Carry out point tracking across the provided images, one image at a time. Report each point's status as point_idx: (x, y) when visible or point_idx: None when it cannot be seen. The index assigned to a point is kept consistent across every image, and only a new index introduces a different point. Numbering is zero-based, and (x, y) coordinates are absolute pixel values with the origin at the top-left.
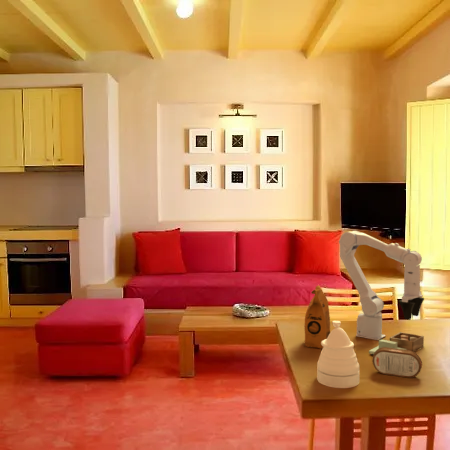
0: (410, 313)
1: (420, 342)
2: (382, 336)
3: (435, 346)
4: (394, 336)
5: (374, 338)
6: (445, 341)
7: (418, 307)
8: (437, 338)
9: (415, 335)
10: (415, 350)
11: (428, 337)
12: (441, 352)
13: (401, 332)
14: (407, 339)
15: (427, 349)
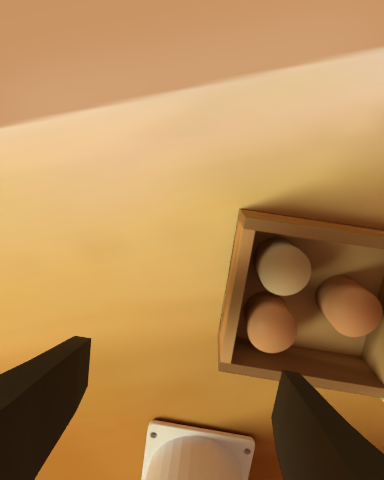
0: (346, 424)
1: (299, 221)
2: (188, 432)
3: (197, 148)
4: (343, 380)
5: (248, 456)
6: (54, 116)
7: (32, 397)
8: (19, 172)
9: (246, 271)
10: (369, 228)
11: (30, 222)
12: (309, 88)
13: (226, 363)
14: (344, 299)
15: (286, 176)
